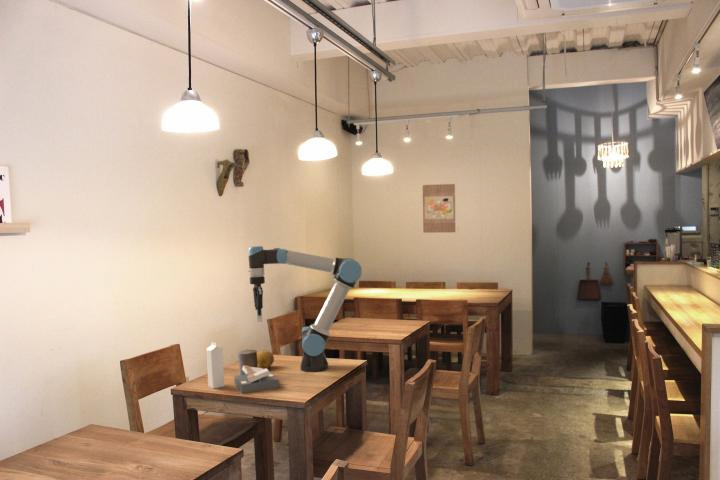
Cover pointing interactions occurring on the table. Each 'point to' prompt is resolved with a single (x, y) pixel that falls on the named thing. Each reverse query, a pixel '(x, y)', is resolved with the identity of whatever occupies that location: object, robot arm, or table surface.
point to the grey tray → (256, 383)
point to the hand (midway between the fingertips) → (259, 321)
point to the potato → (264, 359)
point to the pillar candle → (247, 359)
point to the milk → (215, 366)
